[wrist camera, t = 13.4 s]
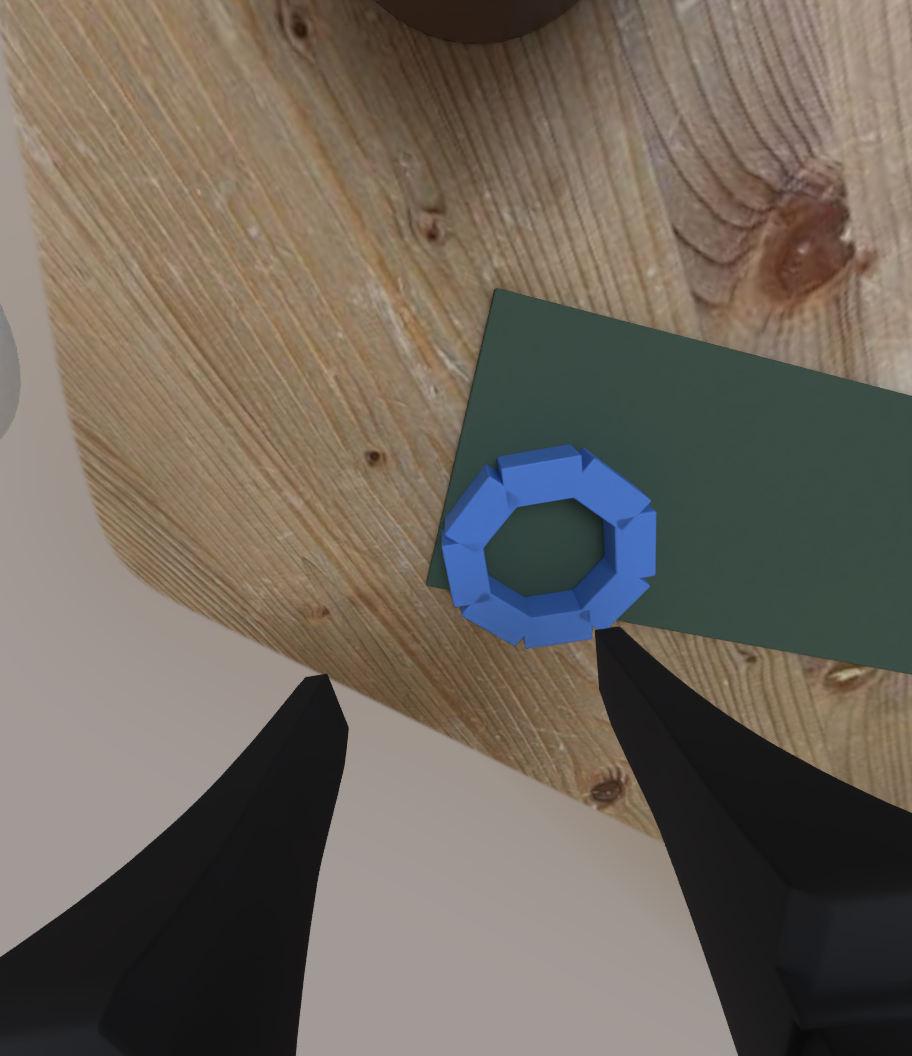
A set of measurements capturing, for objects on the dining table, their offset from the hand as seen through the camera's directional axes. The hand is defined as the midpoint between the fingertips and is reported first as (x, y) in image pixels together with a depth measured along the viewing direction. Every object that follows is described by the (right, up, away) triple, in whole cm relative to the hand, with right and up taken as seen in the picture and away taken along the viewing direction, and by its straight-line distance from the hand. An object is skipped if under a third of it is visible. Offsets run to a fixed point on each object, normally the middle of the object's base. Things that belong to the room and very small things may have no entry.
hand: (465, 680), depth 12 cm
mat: (+19, +3, +8) cm, 21 cm away
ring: (+3, +3, +7) cm, 9 cm away
